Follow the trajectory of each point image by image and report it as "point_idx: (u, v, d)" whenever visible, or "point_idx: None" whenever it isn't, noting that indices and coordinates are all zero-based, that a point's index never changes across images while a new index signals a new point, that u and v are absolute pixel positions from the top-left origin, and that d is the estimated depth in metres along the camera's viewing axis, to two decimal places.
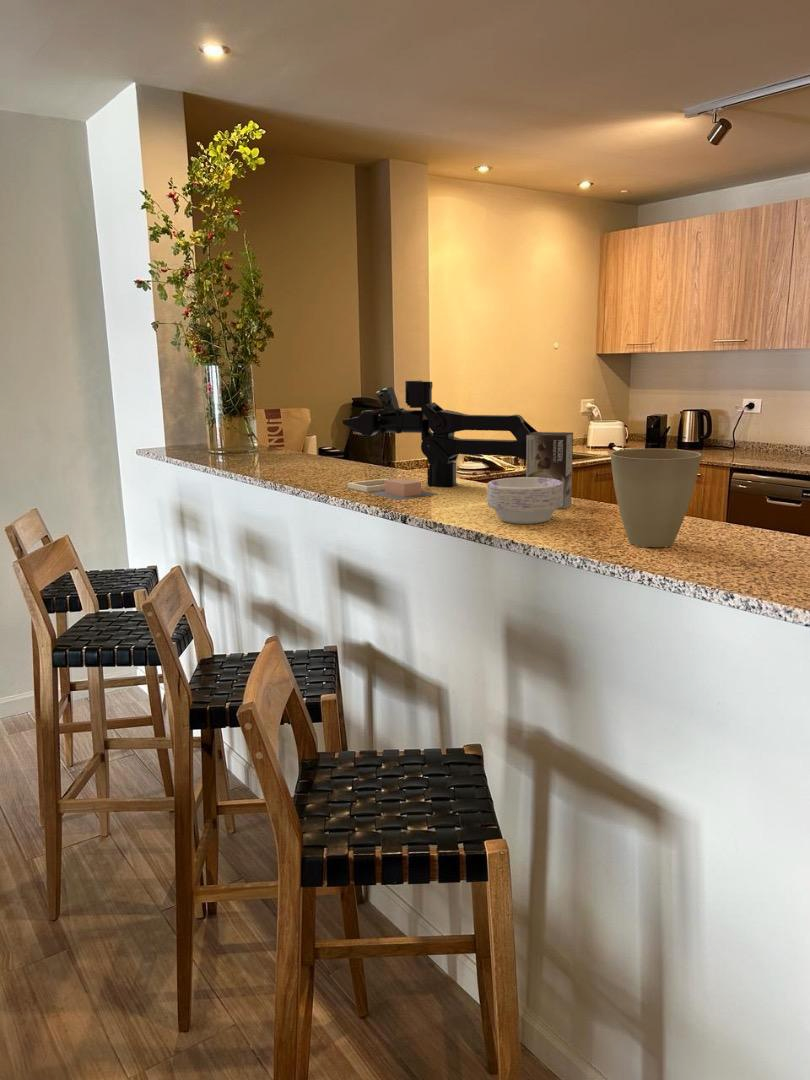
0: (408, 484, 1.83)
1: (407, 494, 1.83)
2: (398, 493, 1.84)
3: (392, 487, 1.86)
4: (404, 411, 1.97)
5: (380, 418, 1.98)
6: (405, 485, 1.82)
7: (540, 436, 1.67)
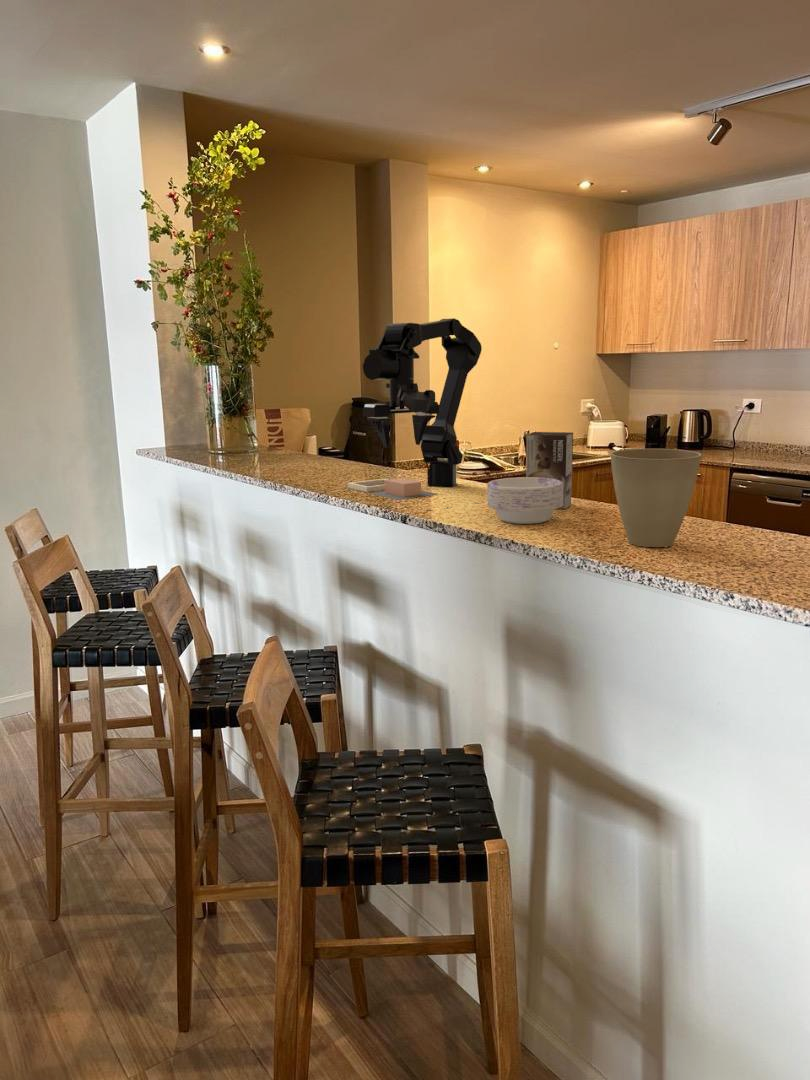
0: (408, 484, 1.83)
1: (407, 494, 1.83)
2: (398, 493, 1.84)
3: (392, 487, 1.86)
4: (412, 379, 1.80)
5: None
6: (405, 485, 1.82)
7: (540, 436, 1.67)
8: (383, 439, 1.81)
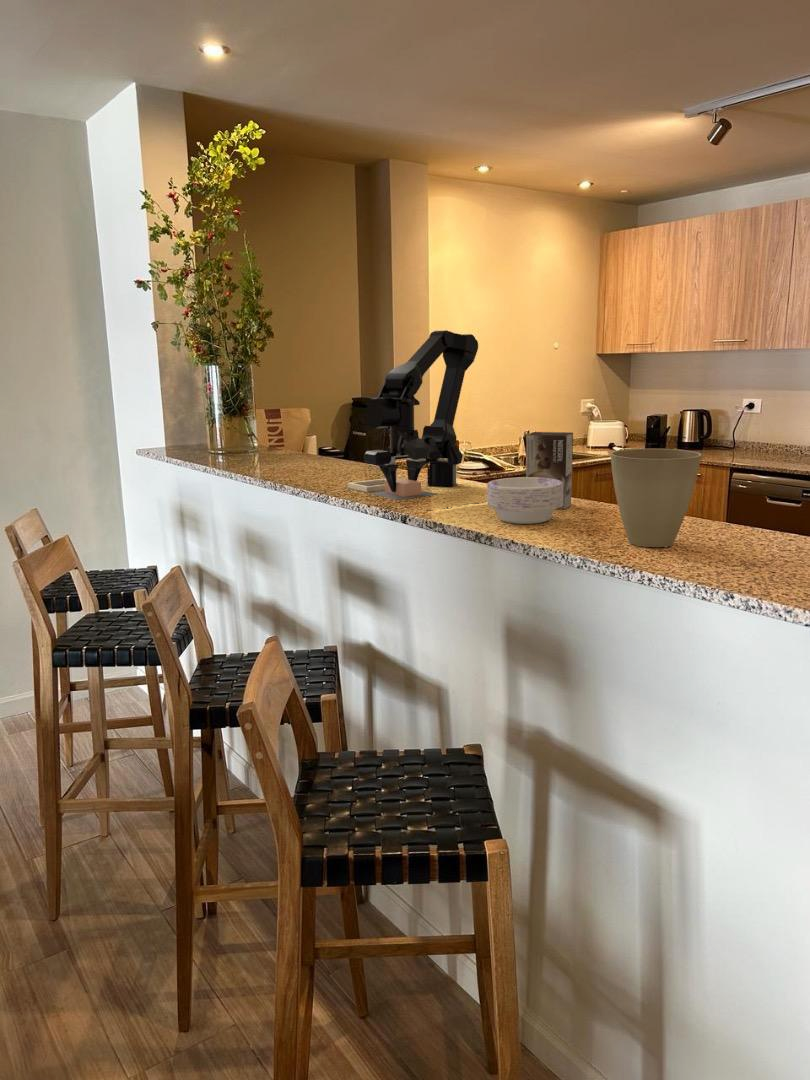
0: (408, 484, 1.83)
1: (407, 494, 1.83)
2: (398, 493, 1.84)
3: None
4: (412, 426, 1.82)
5: None
6: (405, 485, 1.82)
7: (540, 436, 1.67)
8: (391, 484, 1.85)
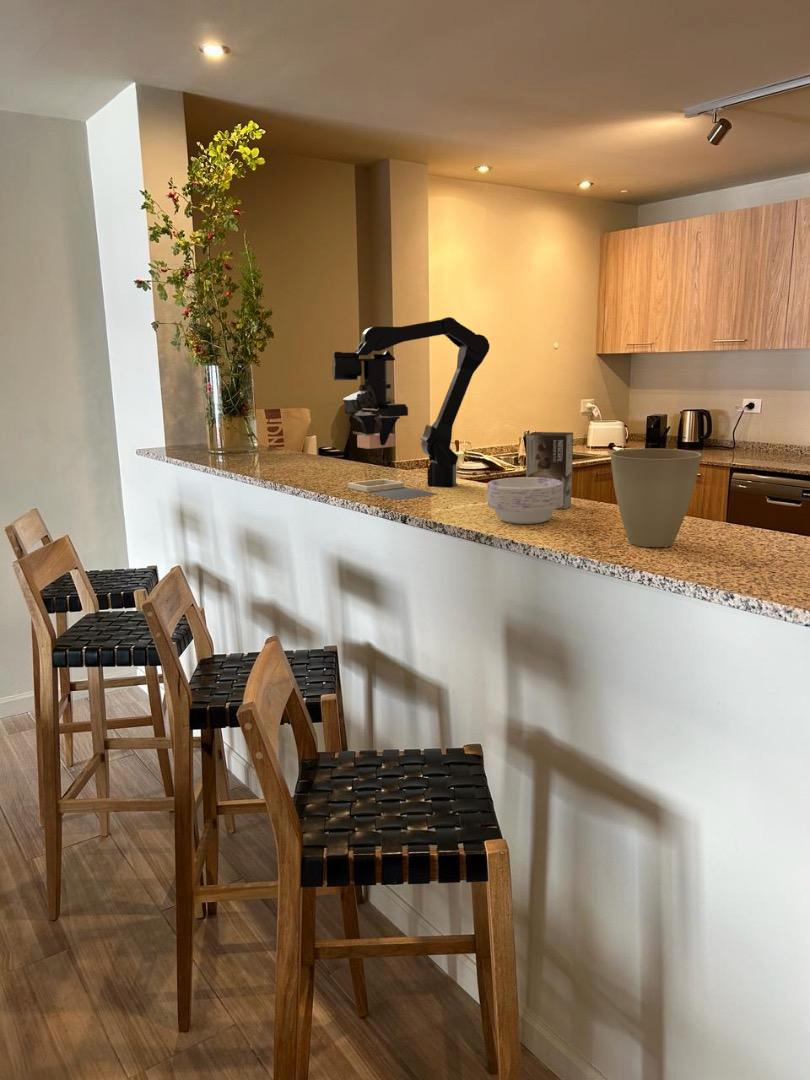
0: (360, 436, 1.91)
1: (359, 445, 1.92)
2: None
3: None
4: (369, 380, 1.87)
5: (379, 405, 1.88)
6: (358, 436, 1.92)
7: (540, 436, 1.67)
8: None
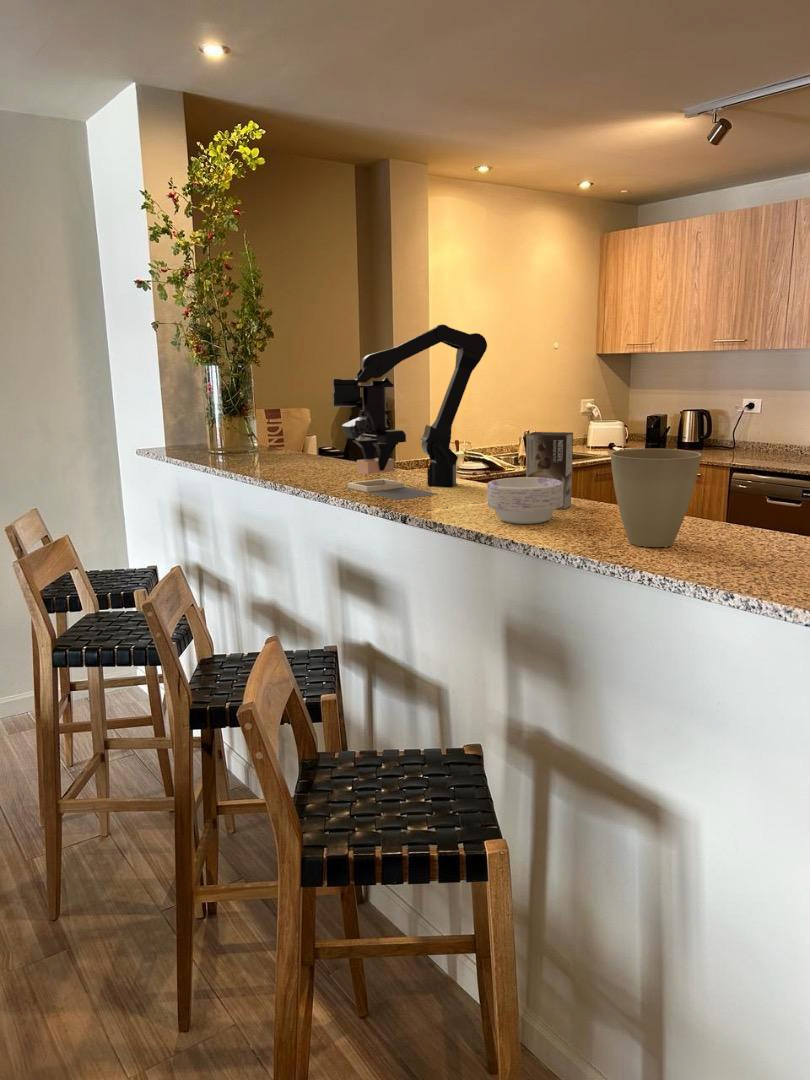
0: (359, 461, 1.93)
1: (359, 470, 1.94)
2: None
3: None
4: (368, 407, 1.89)
5: (378, 431, 1.90)
6: (357, 461, 1.94)
7: (540, 436, 1.67)
8: None
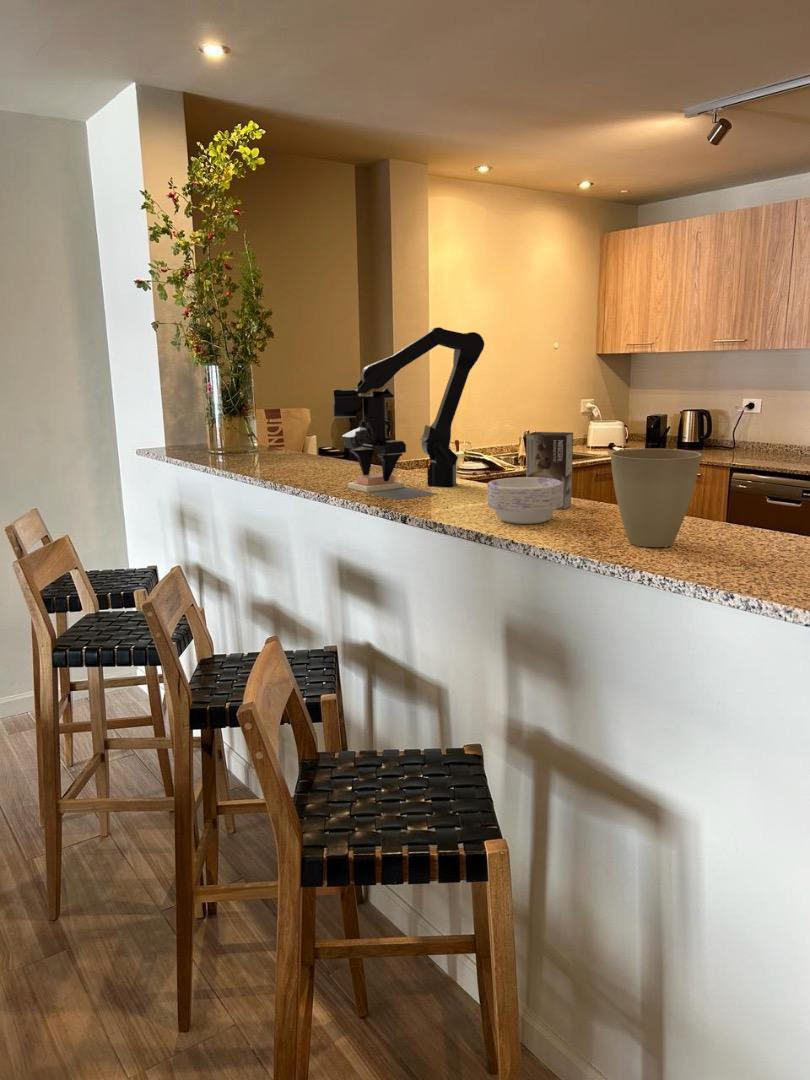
0: (359, 477, 1.94)
1: None
2: None
3: None
4: (368, 417, 1.90)
5: (378, 441, 1.91)
6: (357, 477, 1.95)
7: (540, 436, 1.67)
8: None
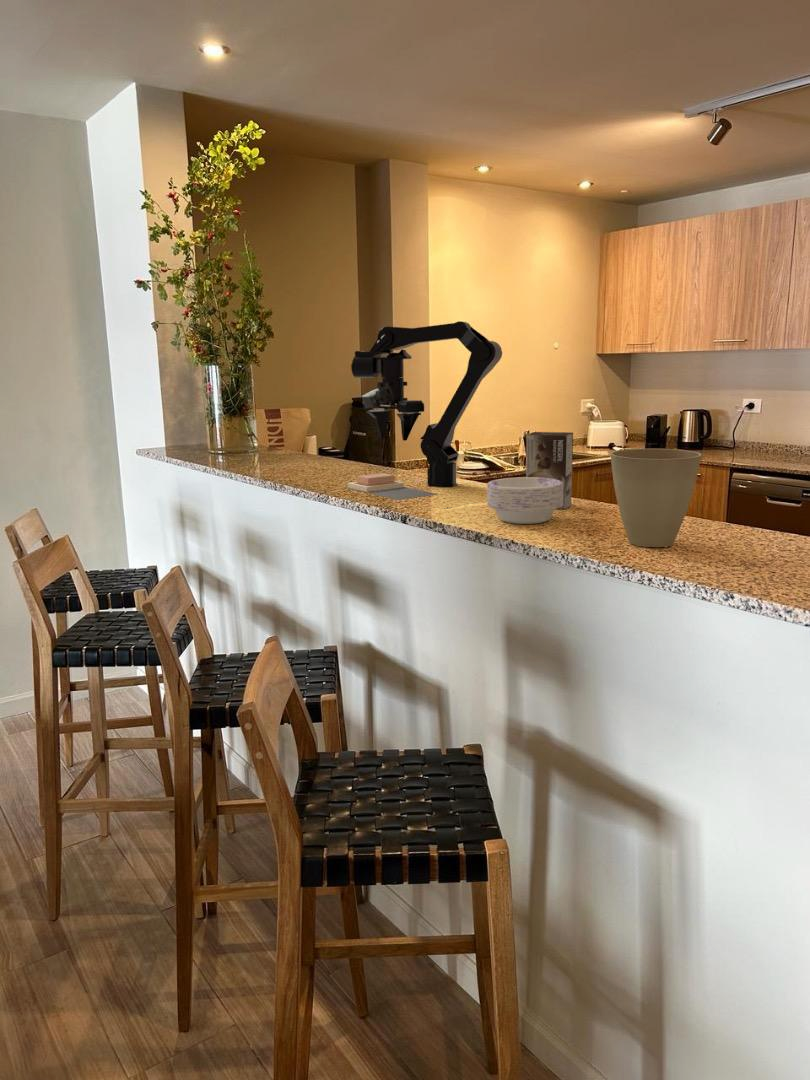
0: (359, 477, 1.94)
1: None
2: None
3: None
4: (387, 378, 1.95)
5: (396, 402, 1.97)
6: (357, 477, 1.95)
7: (540, 436, 1.67)
8: None
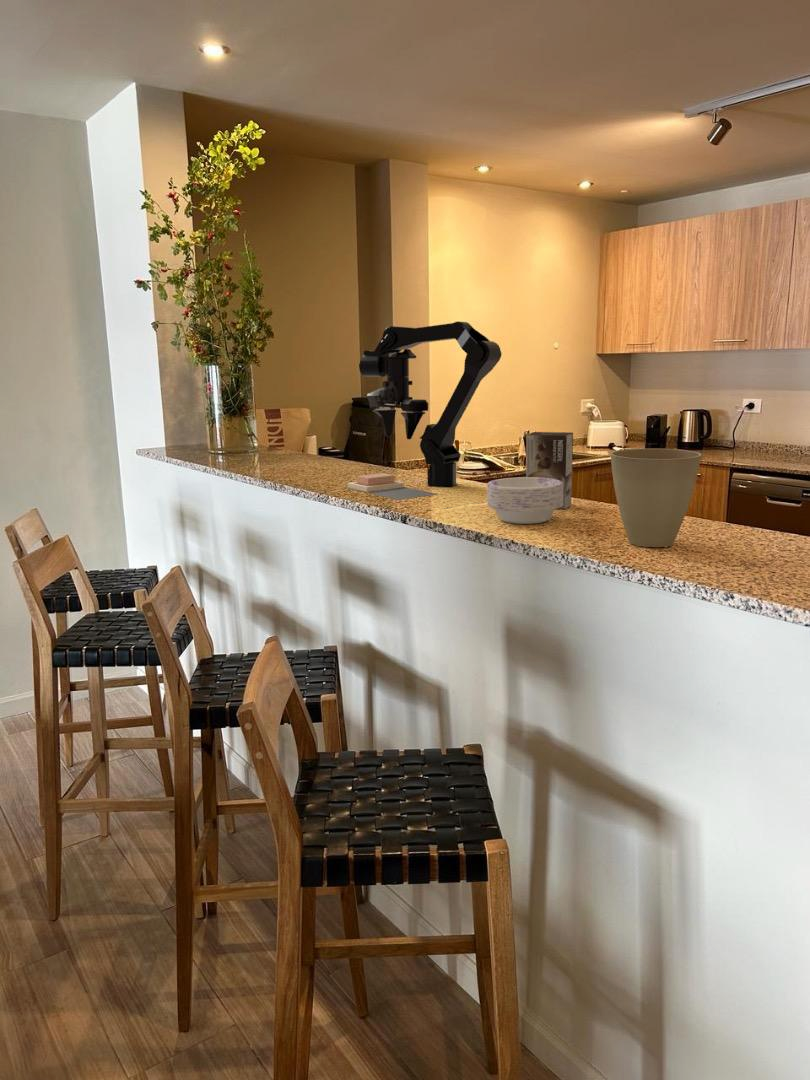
0: (359, 477, 1.94)
1: None
2: None
3: None
4: (392, 377, 1.98)
5: (401, 401, 1.99)
6: (357, 477, 1.95)
7: (540, 436, 1.67)
8: None
